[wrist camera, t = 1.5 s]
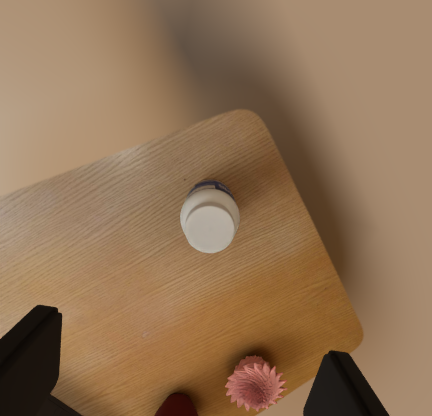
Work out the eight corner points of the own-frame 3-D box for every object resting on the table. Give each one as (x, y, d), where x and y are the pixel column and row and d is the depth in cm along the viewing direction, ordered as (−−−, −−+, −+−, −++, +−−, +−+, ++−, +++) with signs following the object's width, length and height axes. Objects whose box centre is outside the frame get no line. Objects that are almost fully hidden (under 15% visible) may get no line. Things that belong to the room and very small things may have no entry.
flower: (291, 356, 35) (305, 395, 29) (257, 393, 36) (265, 437, 31) (245, 330, 34) (252, 366, 28) (212, 370, 35) (212, 411, 30)
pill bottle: (239, 213, 29) (253, 248, 20) (197, 229, 30) (191, 270, 20) (223, 171, 28) (230, 186, 19) (179, 188, 28) (164, 211, 19)
